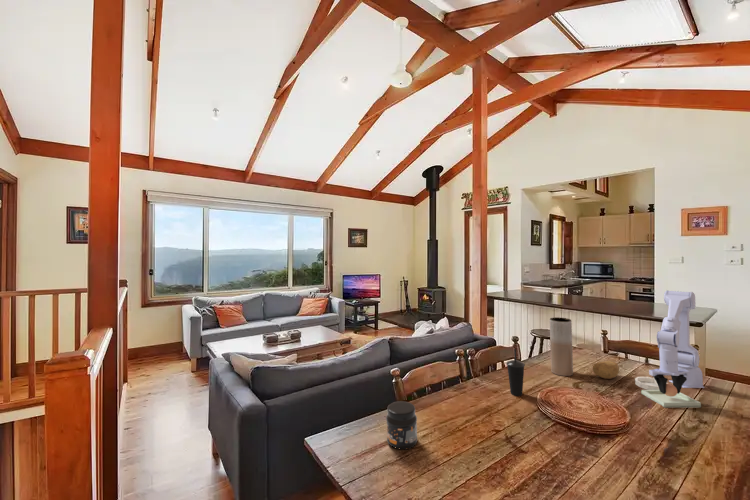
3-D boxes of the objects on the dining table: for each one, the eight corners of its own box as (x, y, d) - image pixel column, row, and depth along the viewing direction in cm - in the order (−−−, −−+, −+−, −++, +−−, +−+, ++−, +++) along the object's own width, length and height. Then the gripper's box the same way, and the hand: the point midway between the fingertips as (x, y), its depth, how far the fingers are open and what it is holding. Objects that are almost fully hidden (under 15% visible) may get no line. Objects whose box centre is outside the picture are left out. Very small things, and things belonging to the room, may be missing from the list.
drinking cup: (522, 390, 152) (520, 346, 152) (528, 397, 144) (526, 351, 144) (505, 390, 153) (503, 346, 153) (510, 397, 145) (508, 351, 145)
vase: (546, 370, 175) (545, 318, 175) (561, 368, 178) (559, 316, 178) (562, 377, 165) (560, 322, 165) (577, 374, 168) (576, 320, 168)
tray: (675, 394, 143) (675, 389, 143) (700, 407, 131) (700, 402, 131) (641, 394, 144) (641, 389, 144) (663, 407, 132) (663, 402, 132)
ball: (671, 393, 140) (671, 381, 140) (680, 398, 135) (680, 386, 135) (658, 393, 140) (658, 381, 140) (667, 398, 135) (667, 386, 135)
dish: (654, 381, 157) (654, 376, 157) (675, 392, 145) (675, 386, 145) (629, 381, 158) (629, 376, 158) (647, 392, 146) (647, 386, 146)
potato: (625, 378, 162) (625, 362, 162) (608, 384, 156) (607, 367, 156) (605, 372, 171) (604, 356, 171) (587, 377, 165) (587, 361, 165)
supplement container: (382, 437, 117) (381, 403, 117) (409, 430, 121) (408, 398, 121) (394, 454, 107) (393, 417, 107) (423, 446, 111) (422, 410, 111)
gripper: (657, 363, 134) (658, 396, 134) (695, 363, 133) (696, 396, 133) (644, 357, 141) (645, 389, 141) (680, 357, 140) (681, 389, 140)
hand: (669, 392), depth 138 cm, fingers closed on ball, 5 cm apart
